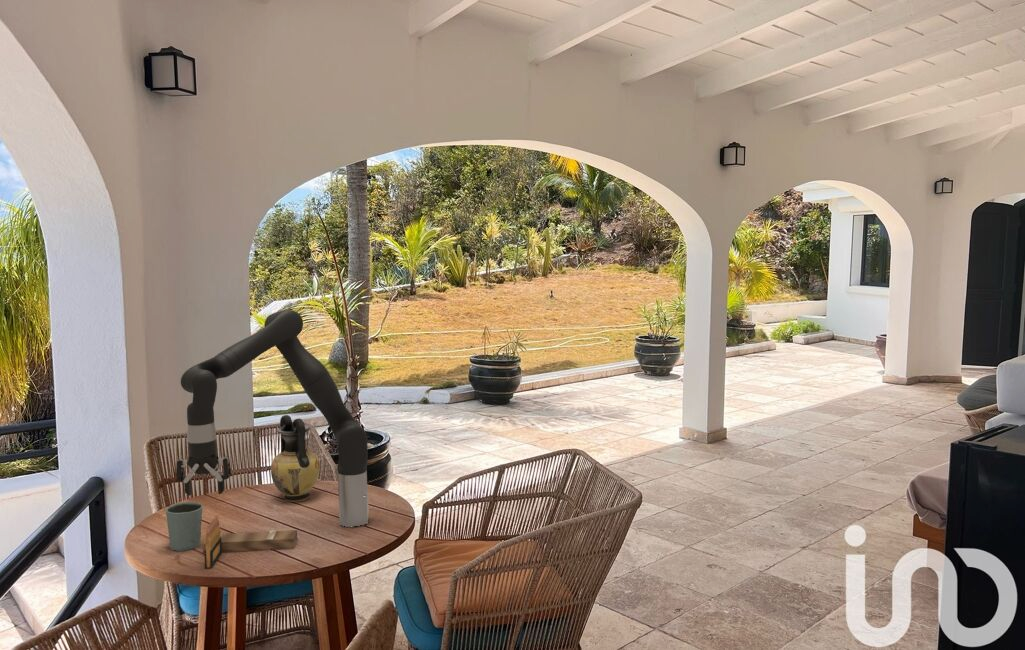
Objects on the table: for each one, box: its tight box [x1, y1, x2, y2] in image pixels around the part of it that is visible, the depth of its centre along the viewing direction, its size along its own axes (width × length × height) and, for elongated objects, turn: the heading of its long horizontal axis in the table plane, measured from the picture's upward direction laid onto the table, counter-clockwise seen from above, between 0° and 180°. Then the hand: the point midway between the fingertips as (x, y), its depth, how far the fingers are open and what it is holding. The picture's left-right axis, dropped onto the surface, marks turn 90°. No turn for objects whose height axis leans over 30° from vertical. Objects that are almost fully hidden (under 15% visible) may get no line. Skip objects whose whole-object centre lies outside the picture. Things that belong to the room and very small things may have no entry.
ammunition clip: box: [204, 514, 223, 569], centre depth 212 cm, size 11×2×12 cm, turn 7°
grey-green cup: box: [165, 501, 204, 552], centre depth 224 cm, size 10×10×12 cm
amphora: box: [270, 414, 321, 503], centre depth 265 cm, size 18×17×30 cm
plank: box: [202, 529, 299, 554], centre depth 223 cm, size 26×7×3 cm, turn 97°
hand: (205, 494), depth 211 cm, fingers open, 8 cm apart
